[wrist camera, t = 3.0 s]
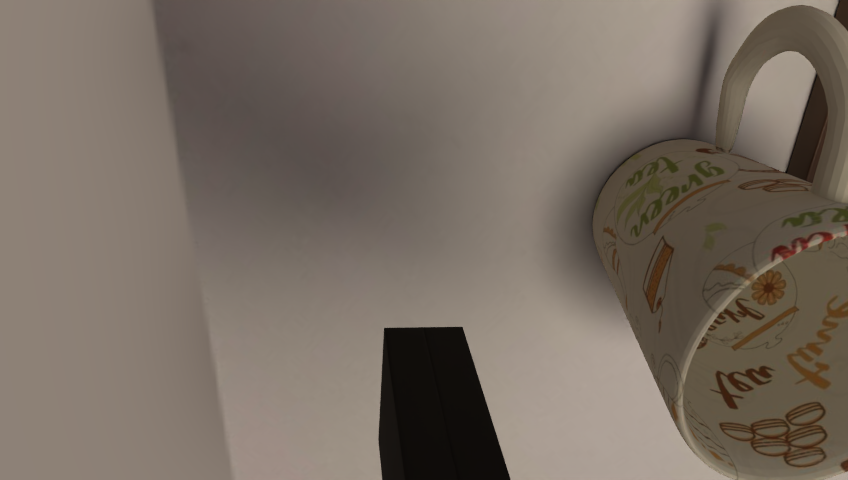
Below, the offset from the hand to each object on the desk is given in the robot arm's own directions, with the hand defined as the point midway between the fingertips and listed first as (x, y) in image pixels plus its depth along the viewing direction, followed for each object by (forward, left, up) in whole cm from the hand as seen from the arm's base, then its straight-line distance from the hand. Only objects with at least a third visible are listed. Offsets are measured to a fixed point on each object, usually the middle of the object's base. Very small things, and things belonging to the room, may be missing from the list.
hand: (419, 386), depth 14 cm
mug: (0, +11, -13) cm, 17 cm away
